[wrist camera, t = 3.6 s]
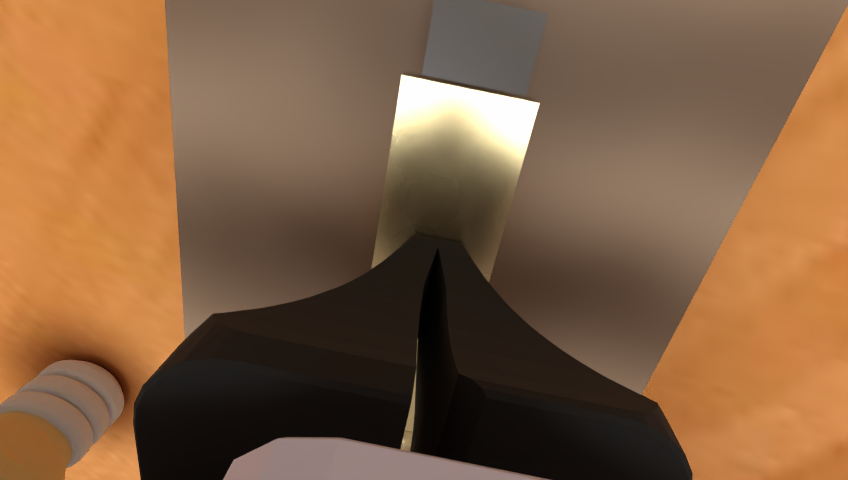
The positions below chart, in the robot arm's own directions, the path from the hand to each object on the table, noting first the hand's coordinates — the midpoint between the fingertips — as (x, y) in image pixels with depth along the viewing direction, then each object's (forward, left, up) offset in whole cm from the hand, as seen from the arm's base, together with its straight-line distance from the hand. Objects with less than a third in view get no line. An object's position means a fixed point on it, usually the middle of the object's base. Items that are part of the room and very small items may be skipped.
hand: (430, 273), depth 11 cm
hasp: (-1, 0, -1) cm, 1 cm away
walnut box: (-1, 0, -5) cm, 5 cm away
